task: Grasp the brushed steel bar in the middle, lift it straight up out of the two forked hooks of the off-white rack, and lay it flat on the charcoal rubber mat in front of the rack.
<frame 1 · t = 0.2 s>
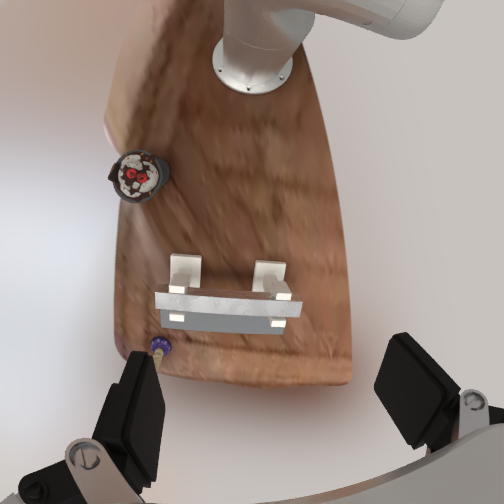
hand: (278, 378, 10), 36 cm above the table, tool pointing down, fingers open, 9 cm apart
rack: (227, 274, 47), on the table
toy lamp: (160, 343, 50), on the table
sundae: (155, 172, 41), on the table
mat: (223, 314, 49), on the table
rail: (229, 302, 38), point 10 cm above the table, touching rack
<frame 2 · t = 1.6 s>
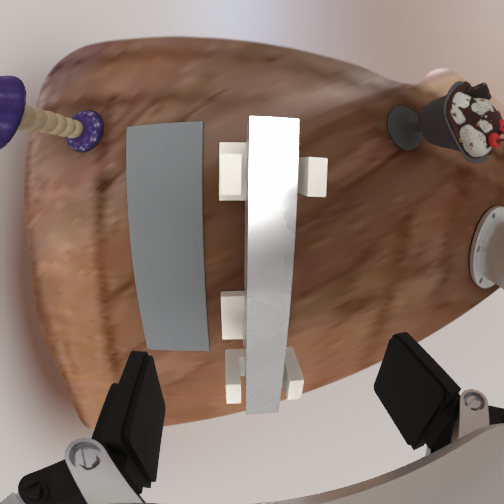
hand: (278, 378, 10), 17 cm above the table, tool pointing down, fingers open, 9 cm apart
rack: (252, 246, 26), on the table
toy lamp: (89, 129, 21), on the table
sundae: (404, 128, 24), on the table
mat: (167, 247, 25), on the table
rail: (266, 292, 17), point 10 cm above the table, touching rack
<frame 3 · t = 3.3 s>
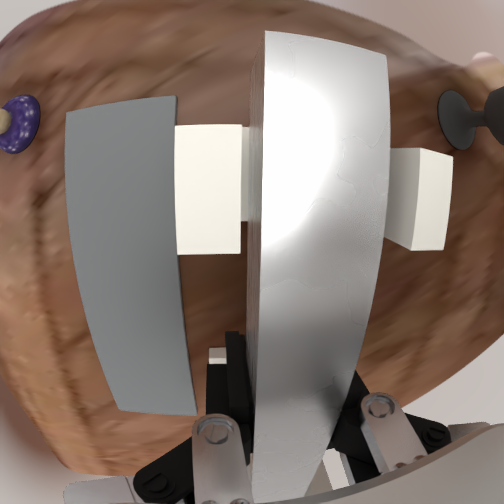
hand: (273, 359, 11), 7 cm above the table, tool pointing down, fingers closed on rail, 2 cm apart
rack: (253, 288, 17), on the table
toy lamp: (24, 121, 12), on the table
sundae: (455, 120, 15), on the table
mat: (129, 289, 16), on the table
rail: (287, 409, 8), point 10 cm above the table, touching gripper, rack
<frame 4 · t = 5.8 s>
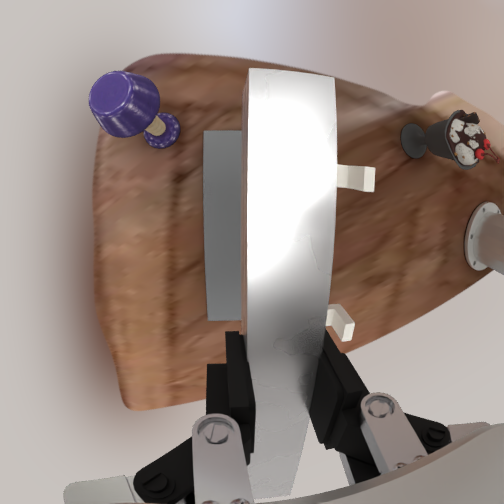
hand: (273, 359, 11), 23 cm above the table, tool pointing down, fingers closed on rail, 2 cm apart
rack: (301, 231, 33), on the table
toy lamp: (165, 129, 28), on the table
sundae: (413, 141, 31), on the table
mat: (234, 231, 32), on the table
rail: (276, 365, 10), point 23 cm above the table, touching gripper
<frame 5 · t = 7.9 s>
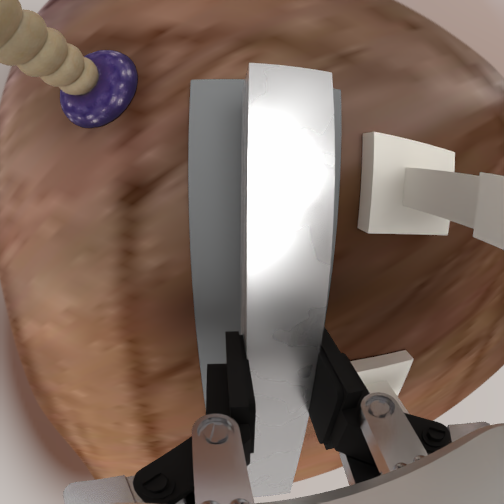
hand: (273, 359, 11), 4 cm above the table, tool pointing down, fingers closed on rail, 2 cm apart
rack: (388, 300, 16), on the table
toy lamp: (106, 86, 10), on the table
mat: (261, 309, 15), on the table
rail: (276, 358, 10), point 5 cm above the table, touching gripper
when the fingers open (1 cm above the table, at t = 8.7 s): rail stays where it is, resting on mat.
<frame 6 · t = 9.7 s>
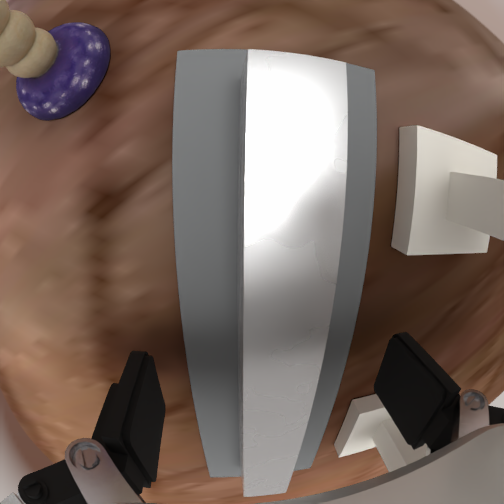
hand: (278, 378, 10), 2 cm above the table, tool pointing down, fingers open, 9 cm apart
rack: (417, 328, 12), on the table
toy lamp: (73, 67, 7), on the table
mat: (270, 348, 11), on the table
rail: (274, 371, 10), point 2 cm above the table, touching mat
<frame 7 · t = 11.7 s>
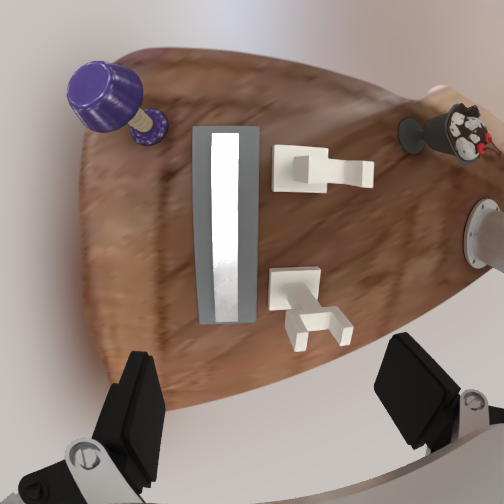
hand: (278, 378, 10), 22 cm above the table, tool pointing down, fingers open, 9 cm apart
rack: (296, 230, 32), on the table
toy lamp: (152, 125, 26), on the table
sundae: (410, 136, 30), on the table
mat: (225, 231, 31), on the table
rail: (224, 232, 29), point 2 cm above the table, touching mat
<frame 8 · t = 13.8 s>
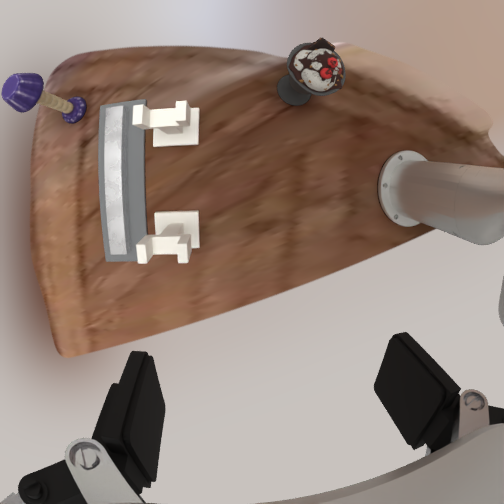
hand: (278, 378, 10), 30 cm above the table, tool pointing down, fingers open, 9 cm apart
rack: (176, 178, 36), on the table
toy lamp: (77, 109, 31), on the table
sundae: (294, 90, 34), on the table
mat: (122, 181, 35), on the table
rail: (116, 180, 33), point 2 cm above the table, touching mat
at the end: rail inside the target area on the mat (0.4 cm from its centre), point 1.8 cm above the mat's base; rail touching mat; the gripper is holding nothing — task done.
